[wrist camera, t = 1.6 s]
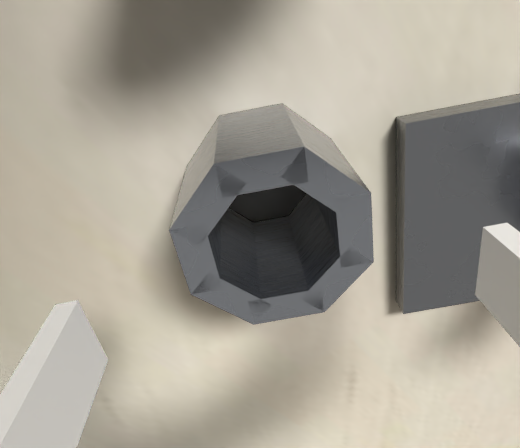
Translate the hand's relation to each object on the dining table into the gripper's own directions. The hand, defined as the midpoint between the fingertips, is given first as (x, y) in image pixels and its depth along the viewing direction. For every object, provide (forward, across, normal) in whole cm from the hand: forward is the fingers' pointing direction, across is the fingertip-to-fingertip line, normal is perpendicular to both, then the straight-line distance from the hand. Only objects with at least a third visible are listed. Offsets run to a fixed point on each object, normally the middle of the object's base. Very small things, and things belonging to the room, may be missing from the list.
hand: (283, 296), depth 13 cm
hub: (+9, 0, 0) cm, 9 cm away
